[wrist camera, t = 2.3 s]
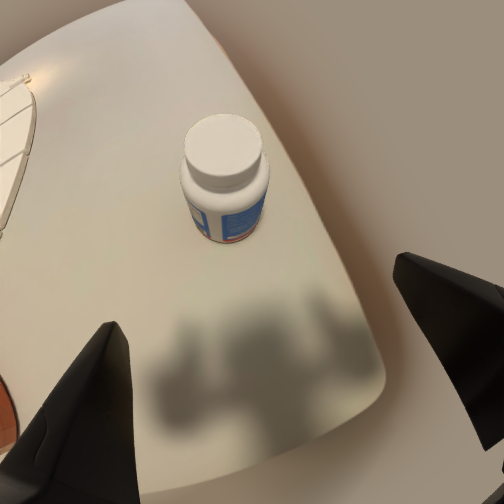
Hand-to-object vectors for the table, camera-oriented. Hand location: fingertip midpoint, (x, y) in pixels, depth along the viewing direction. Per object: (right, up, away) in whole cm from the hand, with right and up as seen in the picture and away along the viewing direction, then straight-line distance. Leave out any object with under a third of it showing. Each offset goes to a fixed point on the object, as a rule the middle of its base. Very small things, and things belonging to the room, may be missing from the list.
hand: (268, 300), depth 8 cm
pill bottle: (-3, +5, +15) cm, 16 cm away
